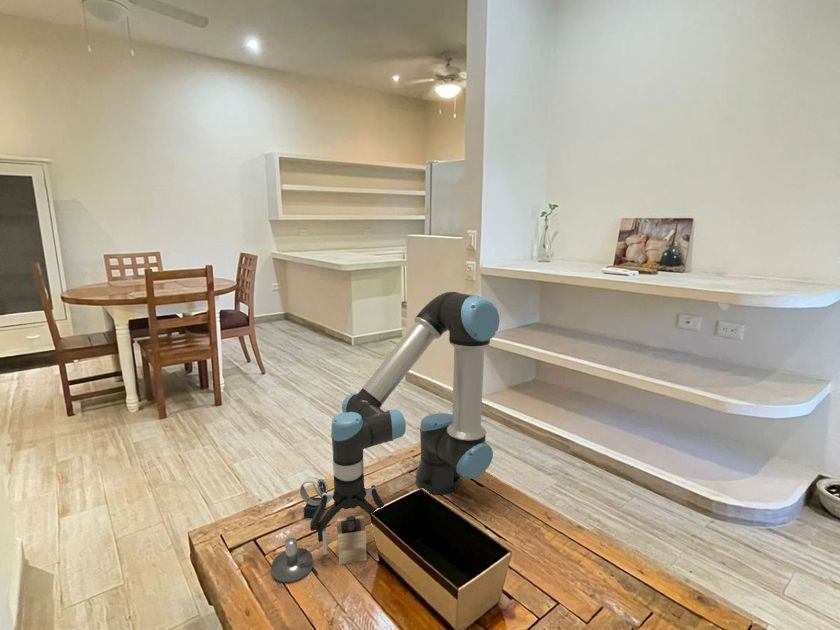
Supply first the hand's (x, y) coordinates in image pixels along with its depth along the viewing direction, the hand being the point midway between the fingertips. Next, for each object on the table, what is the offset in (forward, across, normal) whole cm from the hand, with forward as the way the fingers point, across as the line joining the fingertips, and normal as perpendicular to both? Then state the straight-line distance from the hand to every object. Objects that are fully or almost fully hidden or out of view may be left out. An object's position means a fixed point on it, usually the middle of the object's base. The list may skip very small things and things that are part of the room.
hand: (351, 547), depth 116 cm
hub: (+2, +15, +2) cm, 15 cm away
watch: (+2, +10, -19) cm, 22 cm away
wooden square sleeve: (+2, 0, 0) cm, 2 cm away
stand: (+2, 0, 0) cm, 2 cm away
